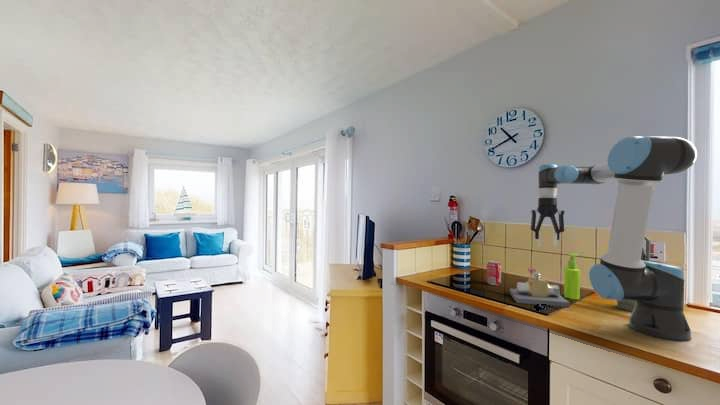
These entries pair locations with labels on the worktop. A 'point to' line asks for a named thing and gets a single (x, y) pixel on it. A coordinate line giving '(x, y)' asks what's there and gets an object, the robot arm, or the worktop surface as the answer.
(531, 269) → the lever
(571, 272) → the soap dispenser
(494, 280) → the soda can
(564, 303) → the plinth
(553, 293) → the valve body
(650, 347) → the worktop surface
